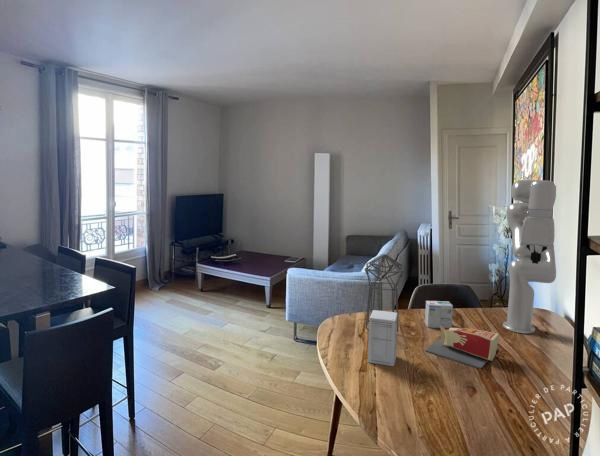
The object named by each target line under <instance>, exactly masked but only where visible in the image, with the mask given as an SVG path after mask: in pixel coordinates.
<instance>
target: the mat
mask: <svg viewBox="0 0 600 456" xmlns="http://www.w3.org/2000/svg"><path fill="white" fill-rule="evenodd" d="M498 350H499V347H497V349H496V352H497V351H498ZM425 352H426V353H428V354H431V355H434V356H437V357H441V358H444V359H446V360H447V359H448V360H451V361H454V362H457V363H460V364H463V365H465V366H469V367H472V368H475V369H479V370H481V368H482V369H483V368H484V366H485V365H486V364H487V363H488V362H489V360H488V359H485V358H482V357H479V356H476V355H473V354H470V353H468V352H465V351H462V350H459V349H457V348H454V347H451V346H449V345H445V344H443V345H441V338H439V339H438V340H437V341H435V342H434V343H433V344H431V345H430V346H429V347H427V348H426V349H425Z"/></svg>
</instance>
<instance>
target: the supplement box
mask: <svg viewBox="0 0 600 456" xmlns="http://www.w3.org/2000/svg"><path fill="white" fill-rule="evenodd" d="M372 310H373V309H372ZM397 315H398V316H399V312H398V313H396V312H395V311H394V312H392V311H387V310H377V309H374V310H373V311H372V313H371V316H370V315H369V322H368V328H369V331H368V339H367V340H368V345H367V346H368V349H367V351H368V352H367V363H369V364H370V363H371V364H376V365H383V366H389V367H394V366H395V363H396V359H397V351H398V350H397V348H398V347H397V343H398V332H397Z"/></svg>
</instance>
